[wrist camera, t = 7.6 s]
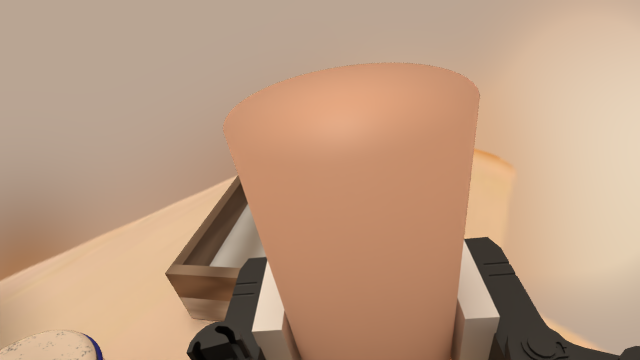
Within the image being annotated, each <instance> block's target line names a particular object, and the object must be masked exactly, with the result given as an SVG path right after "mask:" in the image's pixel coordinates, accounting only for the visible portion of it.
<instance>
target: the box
mask: <svg viewBox="0 0 640 360" xmlns="http://www.w3.org/2000/svg"><path fill="white" fill-rule="evenodd" d="M258 257H266V254H265V251H264V248H263V245H262V242H261V240H260V237H259V234H258V231H257V228H256V225H255V222H254V219H253V216H252V213H251V210H250V207H249V204H248V202H247V199H246V196H245V193H244V190H243V187H242V184H241V181H240V178H239V175H238V176H237V177H236V179H235V180H234V182H233V183H232V184H231V186H230V187H229V188H228V190H227V191H226V192H225V194H224V195H223V196H222V198H221V199H220V200H219V202H218V203H217V204H216V206H215V207H214V208H213V210H212V211H211V212H210V214H209V215H208V216H207V218H206V219H205V221H204V222H203V223H202V225H201V226H200V227H199V229H198V230H197V231H196V233H195V234H194V235H193V237H192V238H191V239H190V241H189V242H188V243H187V245H186V246H185V247H184V249H183V250H182V251H181V253H180V254H179V255H178V257H177V258H176V260H175V261H174V262H173V264H172V265H171V266H170V268H169V269H168V270H167V272H166V273H165V274H166V276H167V278H168V279H169V281H170V283H171V284H172V286H173V287H174V289H175V291H176V292H177V294H178V296H179V297H180V299H181V301H182V302H183V304H184V306H185V307H186V309H187V311H188V312H189V314H190V316H191V317H192V318H194V319H204V320H214V321H224V320H225V316H226V313H227V310H228V307H229V303H230V300H231V297H232V293H233V290H234V287H235V286H236V280H237V277H238V274H239V270H240V269H241V268H242V266H243V265H244V264H245V263H246V261H247V260H248V259H249V258H258Z"/></svg>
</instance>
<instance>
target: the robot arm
mask: <svg viewBox="0 0 640 360" xmlns="http://www.w3.org/2000/svg"><path fill="white" fill-rule="evenodd" d="M187 354H188V356H189V357H190V359H191V360H302V359H301V356H300V353H299V350H298V348H297V345H296V342H295V339H294V336H293V333H292V330H291V327H290V324H289V321H288V318H287V315H286V313H285V310H284V307H283V304H282V301H281V298H280V295H279V292H278V289H277V286H276V283H275V280H274V277H273V275H272V272H271V269H270V266H269V263H268V260H267V257H258V258H249V259H248V260H247V261H246V263H245V264H244V265H243V266H242V268H241V269H240V270H239V274H238V277H237V280H236V286H235V287H234V290H233V293H232V297H231V300H230V303H229V307H228V310H227V313H226V316H225V320H224V321H223V322H215V323H213V324H210V325H208V326H206V327H205V328H203V329H202V330H201V331H200V332H198V333H197V334H196V336H195V337H194V338H193V340H192V341H191V342H190V345H189V348H188V350H187ZM451 360H640V346H634V347H631V348H627V349H625V350H624V352H623V353H622V354H621V355H620V356H618V355H614V354H610V353H605V352H601V351H597V350H592V349H588V348H584V347H581V346H578V345H575V344H573V343H571V342H569V341H567V340H565V339H564V338H563V337H562V336H561V335H560V334H558V333H557V332H556V331H554V330H552V329H550V328H549V327H548V326H547V325H546V324H545V322H544V321H543V319H542V318H541V316H540V315H539V313H538V311H537V309H536V308H535V306H534V305H533V303H532V301H531V299H530V297H529V296H528V294H527V292H526V290H525V289H524V287H523V286H522V284H521V282H520V280H519V278H518V277H517V276H516V275H515V272H514V270H513V268H512V266H511V265H510V264H509V261H508V259H507V258H506V256H505V254H504V253H503V251H502V249H501V248H500V247H499V246H498V245H497V244H495V243H494V242H493V241H492V240H490V239H489V238H488V237H482V238H470V239H464V243H463V252H462V261H461V270H460V278H459V287H458V296H457V305H456V314H455V323H454V332H453V341H452V350H451Z"/></svg>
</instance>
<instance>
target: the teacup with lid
mask: <svg viewBox="0 0 640 360" xmlns="http://www.w3.org/2000/svg"><path fill="white" fill-rule="evenodd" d="M0 360H105V359H104V358H103V356H102V352H101V350H100V347H99V346H98V344H97V343H96V342H95V341H94V340H93V339H92V338H91V337H89V336H87V335H85V334H82V333H79V332H76V331H70V330H54V331H47V332H42V333H39V334H35V335H32V336H29V337H27V338H24V339H22V340H19V341H17V342H15V343H13V344H11V345H9V346H7V347H5V348H3V349H1V350H0Z"/></svg>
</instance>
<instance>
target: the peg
mask: <svg viewBox="0 0 640 360" xmlns="http://www.w3.org/2000/svg"><path fill="white" fill-rule="evenodd" d="M479 99H480V94H479V91H478V88H477V87H476V86H475V84H474V83H473V82H472V81H470V80H469V79H468V78H466V77H464V76H463V75H461V74H459V73H456V72H453V71H451V70H447V69H444V68H440V67H435V66H430V65H422V64H413V63H369V64H357V65H349V66H342V67H336V68H330V69H325V70H320V71H315V72H311V73H307V74H304V75H300V76H296V77H293V78H290V79H287V80H284V81H281V82H279V83H276V84H273V85H271V86H268V87H266V88H264V89H262V90H260V91H258V92H256V93H255V94H252V95H251V96H249V97H247V98H246V99H244V100H243V101H242V102H240V103H239V104H238V105H237V106H235V108H234V109H233V110H232V111H231V112H230V113H229V114H228V116H227V117H226V119H225V122H224V125H223V131H224V134H225V137H226V140H227V143H228V146H229V149H230V152H231V155H232V158H233V161H234V163H235V167H236V169H237V172H238V175H239V178H240V181H241V184H242V187H243V190H244V193H245V196H246V199H247V202H248V204H249V207H250V210H251V213H252V216H253V219H254V222H255V225H256V228H257V231H258V234H259V237H260V240H261V242H262V245H263V248H264V251H265V254H266V257H267V260H268V263H269V266H270V269H271V272H272V275H273V277H274V280H275V283H276V286H277V289H278V292H279V295H280V298H281V301H282V304H283V307H284V310H285V313H286V315H287V318H288V321H289V324H290V327H291V330H292V333H293V336H294V339H295V342H296V345H297V348H298V350H299V353H300V356H301V359H302V360H450V359H451V350H452V341H453V332H454V323H455V314H456V305H457V296H458V287H459V278H460V270H461V261H462V252H463V243H464V234H465V225H466V216H467V207H468V198H469V189H470V180H471V171H472V162H473V153H474V144H475V135H476V126H477V117H478V108H479Z"/></svg>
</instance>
